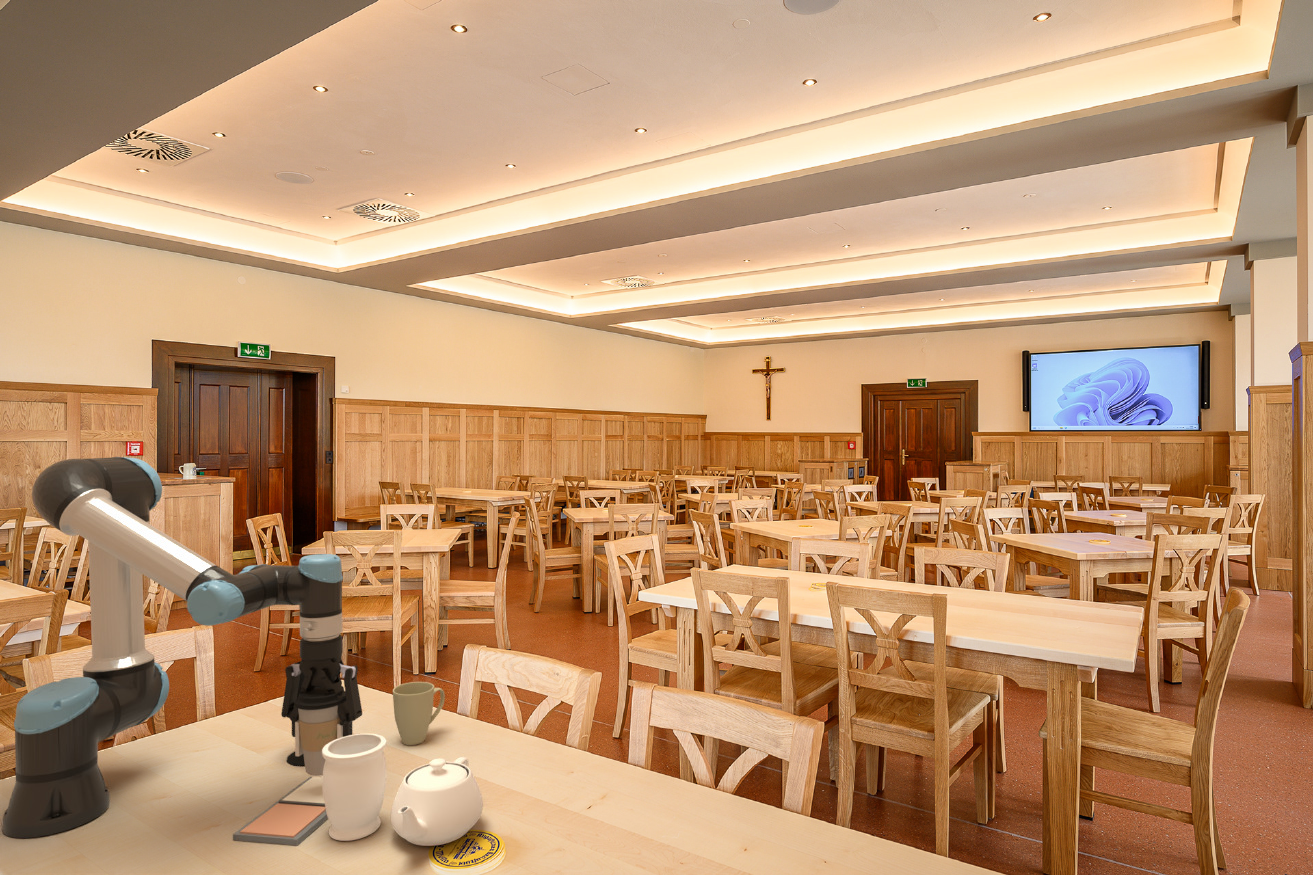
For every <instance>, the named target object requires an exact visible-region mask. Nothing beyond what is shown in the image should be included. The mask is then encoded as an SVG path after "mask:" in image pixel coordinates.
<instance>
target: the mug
mask: <svg viewBox="0 0 1313 875" xmlns="http://www.w3.org/2000/svg"><path fill="white" fill-rule="evenodd" d="M437 692H439V693H440V700H439V704H438V706H437V707H436V709H435V711H433V710H434V709H433V707H434V696H435V694H436V693H437ZM392 699H393V700H392V702H393V703H392V704H393V713H394V722H395V724H396V728H397V730H398V734H399V737H400V739H401V743H402V744H404V745H405V746H416V745H420V744H422V743H424V741H425V740H426V736H427V733H428V730H429V727H430V725H431V724H432V723H433V721H434V720H435V719H436V718H437V716H439V713H440V712H441V710H442V709H443V707H444V704H445V699H446V695H445V691H444V690H443V689H442V688H440V687H435V685H434V684H433V683H431V682H427V681H411V682H406V683H405V682H404V683H401V684H399V685H396V686H395V687H394V688H393V689H392Z"/></svg>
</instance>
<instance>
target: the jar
mask: <svg viewBox="0 0 1313 875" xmlns="http://www.w3.org/2000/svg"><path fill="white" fill-rule="evenodd" d="M386 747H387V739H386V738H385V737H384V736H383V735H380V734H376V733H356V734H352V735H349V736H345V737H341V738H338V739H336V740H333V741H331V742H329V743H328V744H326V745H325V746H324V747H323V749H322V755H323V757H324V759H325V760H326V761H325V764H324V769H323V775H321V777H322V790H323V797H324V801H325V809H326V813H327V817H328V819H327V820H329V823H330V824H331V825H330V827H329V829H328V835H329V837H330V838H331V839H333V840H337V841H342V842H349V841H356V840H360V839H363V838H365V837H368V836H370V835H372V834H373V833H375V832H376V831H377V830H378V829H379V828H380V826H381V823H382V822H381V818H380V816H379V815H380V812H381V810H382V807H383V803H384V799H385V790H386V786H387V774H388V773H387V772H388V771H387V761H386V756H385V751H384V750H385V749H386Z"/></svg>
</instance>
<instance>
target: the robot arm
mask: <svg viewBox="0 0 1313 875" xmlns="http://www.w3.org/2000/svg"><path fill="white" fill-rule="evenodd" d="M162 495H163V485H162V481H161V478H160V475H159V474H158V472H157V471H156V469H155V468H154V467H152V466H151V465H150V463H148V462H146V461H144V460H142V459H139V458H137V457H136V458H135V457H125V456H122V457H121V456H113V457H97V458H96V457H95V458H93V457H91V458H68V459H62V460H59V461H57V462H55V463H53V464H50V465H49V466H48V467H46V468H45V469H44V470H42V471H41V472H40V473H39V475H37V477H36V479H35V480H34V483H33V486H32V490H31V497H32V503H33V506H34V508H35V510H36V512H37V513H38V514H39V515H40V516H41V518H42V519H43V520H44V521H46V522H47V524H49V525H51V526H52V527H53V528H55V529H56V530H58V531H60V532H62V533H63V534H65V535H66V536H70V537H72V536H74V537H75V536H80V537H81V538H83V539H85V540H87V544H88V545H87V546H88V548H87V549H88V570H89V571H88V573H89V601H90V602H89V603H90V626H91V627H90V628H91V630H90V631H91V632H90V633H91V658H90V659H89V660H88V661H87V662H86V663H85V664H84V665H83V667H82V676H77V677H76V676H75V677H69V678H63V679H61V680H59V681H52V682H48V683H46V684H43V685H41V686H38V687H35V688H34V689H32V690H30V691H29V692H26V694H24V695H23V696H22V697H21V698H20V699H19V701H18V702H17V705H16V708H15V709H16V710H15V718H14V722H13V727H14V736H15V738H14V742H15V743H14V744H15V745H14V746H15V747H14V748H15V784H14V787H13V788H12V793H11V795H10V798H9V803H8V807H7V809H6V810H5V811H4V814H3V816H2V833H3V834H4V835H5V836H7V837H10V838H16V839H17V838H18V839H28V838H29V839H30V838H38V837H44V836H49V835H54V834H58V833H59V834H60V833H62V832H66V831H69V830H72V829H74V828H78V827H79V826H83V825H85V824H87V823H89V822H91V821H93V820H94V819H96V818H98V817H100V816H101V815H103V813H105V812H106V811H107V810H108V809H109V807H110V791H109V788H108V787H107V785H106V783H105V779H104V777H103V774H102V772H101V770H100V767H99V764H98V763H99V762H98V759H99V757H98V756H99V755H98V754H99V753H98V752H99V749H98V748H99V747H98V746H99V742H102V741H104V740H106V739H108V738H111V737H113V736H115V735H117V734H119V733H121V732H124V731H126V730H128V729H130V728H133V727H136V726H139V725H140V724H142V723H143V722H146V720H148V719H150V718H151V717H153V716H155V714H157V713H158V712H159V711H160V710H161V709H162V708H163V707H164V705H165V703H166V701H167V699H168V695H169V691H170V680H169V677H168V674H167V671H164V670H163V667H162V666H161V665H160V664H159V663H158V662H155V654H153V653H152V652H150V651H149V650H148V649H146V642H145V641H146V639H145V637H146V636H145V615H144V614H145V612H144V611H145V610H144V587H143V586H144V583H143V582H144V580H143V576H146V577H147V578H148V579H149V580H151V581H154V582H155V583H157V584H158V585H160V586H161V587H163V588H165V589H166V590H168V591H169V592H171V593H172V594H175V595H176V596H178V597H179V598H181V599H182V600H184V601H186V608H187V612H188V613H189V614H190V616H191V617H192V620H193V621H195V623H197V624H199V625H202V626H206V627H211V626H216V625H220V624H226V623H229V622H233V621H234V620H235V619H238V618H241V617H243V616H247V615H249V614H251V613H252V614H253V613H255V612H258V611H261V610H263V609H266V608H269V607H271V606H298V608H299V636H300V637H301V639H300V640H299V658H300V659H301V660H300V661H301V663H300V664H297V662H295V663H292V664H290V665H287V666H286V667H285V669H284V670H285V676H286V681H285V688H284V695H283V701H282V708H281V714H280V715H281V717H282V718H283V719H284V718H287V719H289V720H290V721H291V736H292V738H294V740H295V742H294V750H295V751H294V752H295V756H300V755H302V754H303V748H302V745H301V736H300V728H299V711H298V708H296V707H295V700H296V699H297V693H298V687H299V680H300V673H301V672H302V674H303V675H304V677H305V678H304V681H303V683H302V686H301V688H302V689H301V691H300V692H304V693H307V692H309V691H311V690H313V689H314V687H315V686H317V685H320V686H325V688H326V690H327V691H328V692H329V693H330V695H331V694H336V696H337V700H339V699H341V698H342V697H344V696H346V699H347V701H346V702H344V703H342V704H341V703H340V705H338V709H337V713H338V715H339V718H340V720H341V722H340V723H338V724H337V739H338V738H341V737H345V736H349V735H353V722H354V721H356V720H358V719H359V718H360V717H361V716H363V709H362V703H361V702H362V701H361V696H360V690H359V686H358V685H359V684H358V679H357V675H358V671H359V668H358V666H357V665H355V664H354V665H351V666H349V665H346V664H345V663H344V662H343V658H342V657H343V656H342V655H343V652H344V650H343V645H344V644H343V643H344V642H343V639H344V638H343V636H342V634H341V633H342V632H343V631H344V630H343V629H344V627H343V624H344V623H343V580H344V575H343V570H342V559H341V557H340V556H339V555H337V554H334V553H333V554H331V553H322V554H319V553H318V554H317V553H316V554H310V555H309V554H308V555H305V556H303V557H301V558H300V559H299V562H298V565H280V564H279V565H277V564H276V565H275V564H274V565H272V564H271V565H270V564H266V563H265V564H263V563H262V564H259V565H257V564H255V565H254V564H253V565H248V566H245V567H244V568H242V571H240V572H239V573H237V574H233V573H230V572H229V571H227V570H225V569H224V568H222V567H221V566H218V565H217V564H215V563H213V562H212V561H210V560H208V559H207V558H205V557H204V556H202V555H200V554H199V553H197V552H196V551H194V550H192V549H191V548H189V547H187V546H186V545H184V544H182V543H181V542H179V541H178V540H176V539H174V538H173V537H172V536H170V535H168V534H166V533H165V532H164V531H161V530H160V529H158V528H157V527H155V526H154V525H152V524H150V511H152V510H153V509H155V507H157V504H158V502H160V501H161V498H162ZM344 664H345V665H344ZM341 673H342V675H341ZM340 675H341V676H342V678H343V681H342V679H341V676H340ZM333 682H334V684H332V683H333ZM343 684H344V686H343ZM342 686H343V687H344V690H343V688H342ZM341 690H343V694H342V695H341V696H338V695H337V693H338V692H340V691H341ZM344 691H345V692H346V695H345V693H344ZM298 698H299V696H298Z"/></svg>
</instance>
